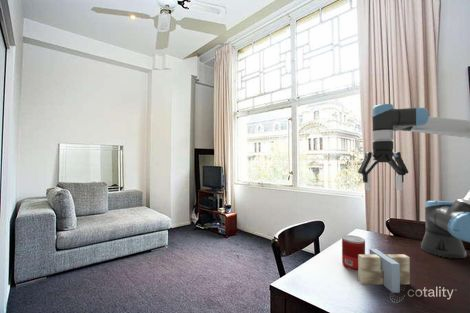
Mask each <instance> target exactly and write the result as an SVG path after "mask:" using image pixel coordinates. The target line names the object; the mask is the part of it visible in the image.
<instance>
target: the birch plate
mask: <svg viewBox="0 0 470 313" xmlns="http://www.w3.org/2000/svg"><path fill="white" fill-rule="evenodd" d="M385 255H386V256H388V257H390V258H391V259H393V260H394V261H396V262H397V263H399V264H400V285H410V284H411V282H410V280H411V278H410V276H411V274H410V272H411V270H410V268H411V267H410V262H411V261H410V258H411V257H410V256H408V255H406V254H405V253H404V254H402V253H401V254H400V253H398V254H393V253H392V254H390V253H389V254H385ZM357 273H358V274H357V276H358V278H357V279H358V282H360V284H362V285H384V271H383V270H381V259H380V257H379V256H378V255H376V254H370V253H369V254H368V253H367V254H366V253H365V254H358V271H357Z"/></svg>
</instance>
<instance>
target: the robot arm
mask: <svg viewBox="0 0 470 313" xmlns="http://www.w3.org/2000/svg"><path fill="white" fill-rule="evenodd" d="M371 113H372V115H371V119H372V120H371V121H372V122H371V123H372V141H373V142H372V151H366V152H365V155H364V158H363V160H362V161H361V162H362V163H361V164H360V167H359V169H358V171H357V172H358V174H361V175H362V182H363V183H364V190H365V191H371V175H370V173H371V172H372V170H373V169H374V168H375V167H376V165H378V164H379V163H387V164H389V166H390V167H391V168H392V169H393V171H395V173H396V174H395V190H396V191H401V192H402V191H403V183H404V176H406V174H409V170H408V168H407V165H406V164H405V162H404V160H403V158H402V155H401V154H402V153H401V152H400V151H394V152H393V150H394V141H393V140H394V132H398V131H405V132H413V133H421V134H432V135H439V136H447V137H449V136H450V137H458V138H467V139H470V119H459V118H449V117H448V118H447V117H437V116H430V114H429V111H428V109H427V108H425V107H408V108H394V105H393V104H391V103H381V104H377V105H374V106H373V108H372V112H371ZM372 157H373V158H372ZM393 157H394V158H393ZM371 158H372V159H371ZM370 161H371V162H370ZM424 210H425V212H424V213H425V214H424V215H425V217H424V218H425V233H424V235H423V238H422V241H421V242H420V249H421V250H422V251H424V252H426V253H428V254H430V253H431V255H433V254H434V256H436V255H438V256H437V257H440V256H442V257H441V258H445V257H449V258H448V259H451V258H463V257H466V258H467V250H466V249H465V246H464V243H463V242H465V243H470V189H469V190H468V191H467V193H465V196H464V197H463V198H459V199H458V198H457V199H456V200H455V201H450V200H449V201H445V200H427V201H426V202H425V207H424Z"/></svg>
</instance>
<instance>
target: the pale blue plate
mask: <svg viewBox="0 0 470 313" xmlns="http://www.w3.org/2000/svg"><path fill="white" fill-rule="evenodd" d="M369 254H376V255H378V256H379V257H380V259H381V270H383V271H384V284H383V286H384V287H385V288H386V289H388V291H390V292H391V293H397V294H398V293H401V284H400V264H399V263H397V262H396V261H394V260H393V259H391V258H390V257H388V256H386V254H384V253H383V252H381V251H380V250H379V249H377V248H369Z"/></svg>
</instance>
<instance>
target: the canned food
mask: <svg viewBox="0 0 470 313" xmlns="http://www.w3.org/2000/svg"><path fill="white" fill-rule="evenodd" d="M341 241H342V242H341V253H342V255H341V259H342V260H341V261H342V265H343V266H344V267H345V268H346V269H349V270H350V271H355V272H356V271H357V272H358V254H366V240H365V238H363V237H361V236H359V235H351V234H346V235H343V236H342V238H341Z"/></svg>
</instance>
